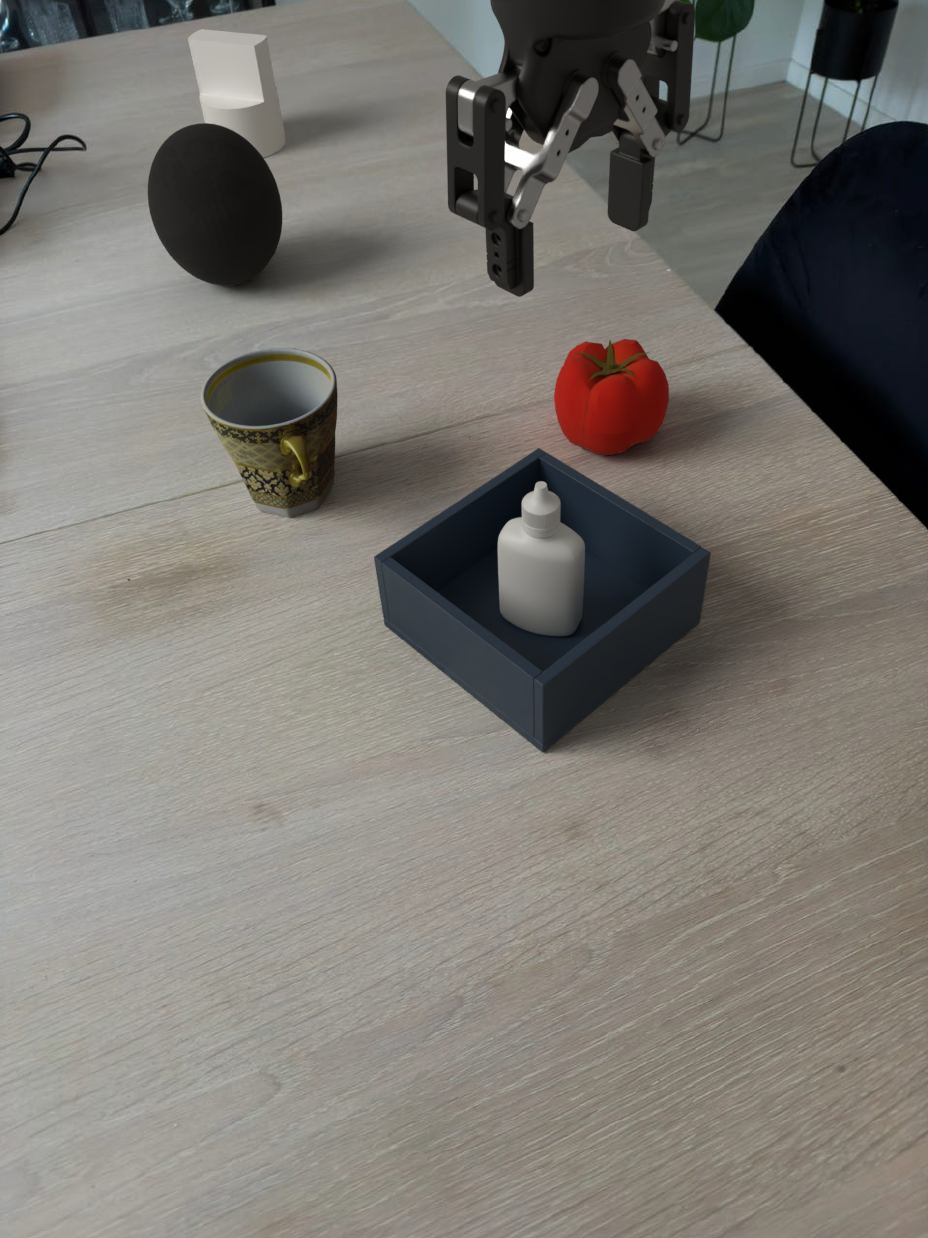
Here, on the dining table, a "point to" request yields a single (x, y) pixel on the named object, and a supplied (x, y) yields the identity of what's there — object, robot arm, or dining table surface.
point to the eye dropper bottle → (541, 568)
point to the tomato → (610, 396)
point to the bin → (527, 662)
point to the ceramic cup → (277, 425)
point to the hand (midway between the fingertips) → (572, 255)
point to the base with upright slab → (238, 86)
